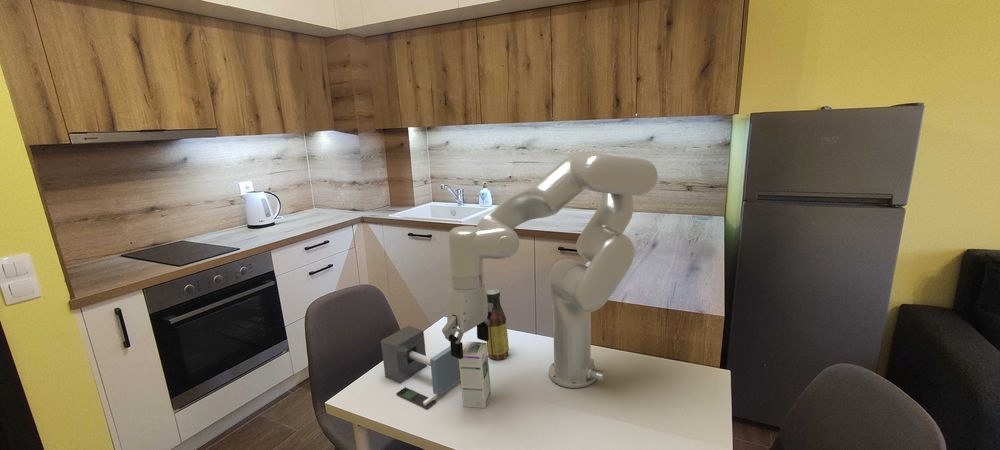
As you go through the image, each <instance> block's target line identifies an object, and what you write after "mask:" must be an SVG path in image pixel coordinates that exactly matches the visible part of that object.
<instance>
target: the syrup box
mask: <svg viewBox="0 0 1000 450" xmlns="http://www.w3.org/2000/svg"><path fill="white" fill-rule="evenodd" d="M489 365H490V364H489V355H488V351H487V342H481V341H465V342H464V344H463V358H462V359H459V367H460V378H461V380H460V386H461V394H462V395H461V396H462V397H461V398H462V405H463V407H466V408H477V409H486V408H487V405H488V403H489V400H490V398H491V394H492V393H491V392H492V390H491V380H490V378H491V377H490V367H489Z"/></svg>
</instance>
